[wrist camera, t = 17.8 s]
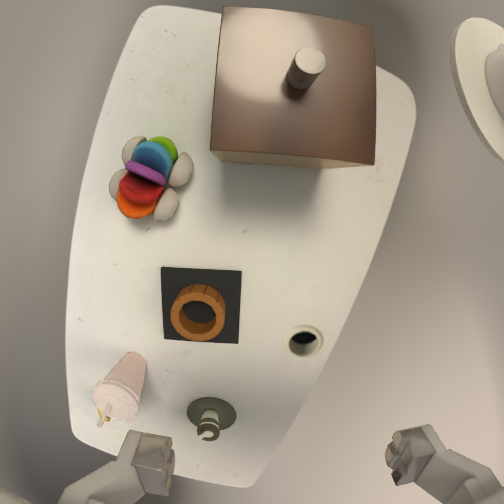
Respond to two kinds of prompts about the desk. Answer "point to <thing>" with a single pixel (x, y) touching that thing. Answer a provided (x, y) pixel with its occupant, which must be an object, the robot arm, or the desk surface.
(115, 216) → the desk surface
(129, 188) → the rainbow disc roller toy
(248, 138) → the tape stand
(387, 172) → the desk surface
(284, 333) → the desk surface
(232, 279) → the mat
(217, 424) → the coffee cup
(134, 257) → the desk surface
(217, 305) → the grooved wooden ring
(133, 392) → the smoothie
